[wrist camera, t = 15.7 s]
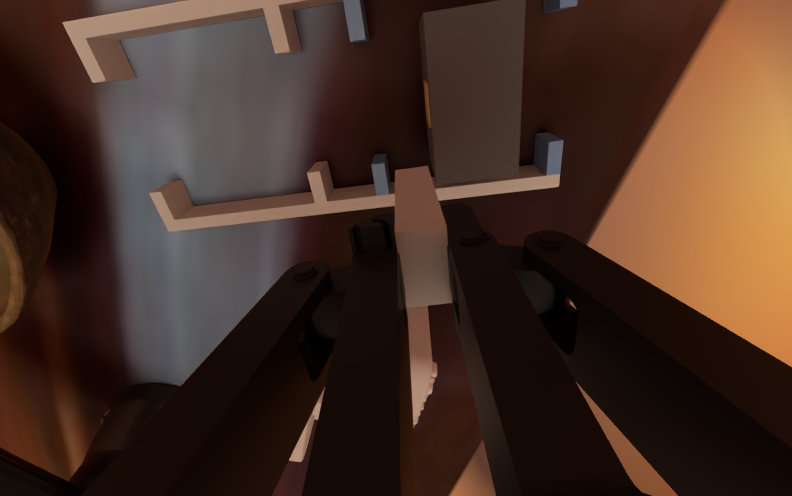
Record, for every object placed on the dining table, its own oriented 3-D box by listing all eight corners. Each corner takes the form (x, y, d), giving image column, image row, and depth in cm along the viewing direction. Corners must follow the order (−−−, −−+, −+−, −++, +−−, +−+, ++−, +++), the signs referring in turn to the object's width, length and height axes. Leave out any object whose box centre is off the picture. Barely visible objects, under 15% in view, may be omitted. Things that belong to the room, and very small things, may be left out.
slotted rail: (188, 217, 32) (162, 236, 28) (94, 15, 24) (44, 9, 21) (544, 174, 29) (562, 190, 26) (563, -68, 21) (592, -90, 18)
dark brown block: (427, 153, 28) (434, 185, 21) (416, 24, 24) (421, 12, 17) (491, 145, 28) (520, 175, 21) (492, 13, 24) (528, -5, 17)
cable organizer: (328, 264, 34) (295, 353, 24) (431, 285, 35) (442, 380, 25) (311, 367, 41) (281, 469, 31) (397, 382, 42) (394, 486, 32)
